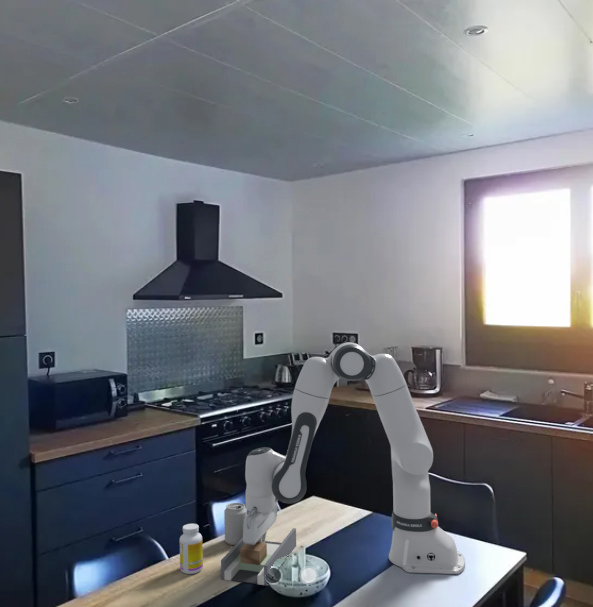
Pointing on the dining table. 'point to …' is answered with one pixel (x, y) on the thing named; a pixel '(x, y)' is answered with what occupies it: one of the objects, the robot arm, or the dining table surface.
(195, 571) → the supplement bottle
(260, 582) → the box
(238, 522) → the can
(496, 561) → the dining table surface
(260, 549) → the walnut block
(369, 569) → the dining table surface
